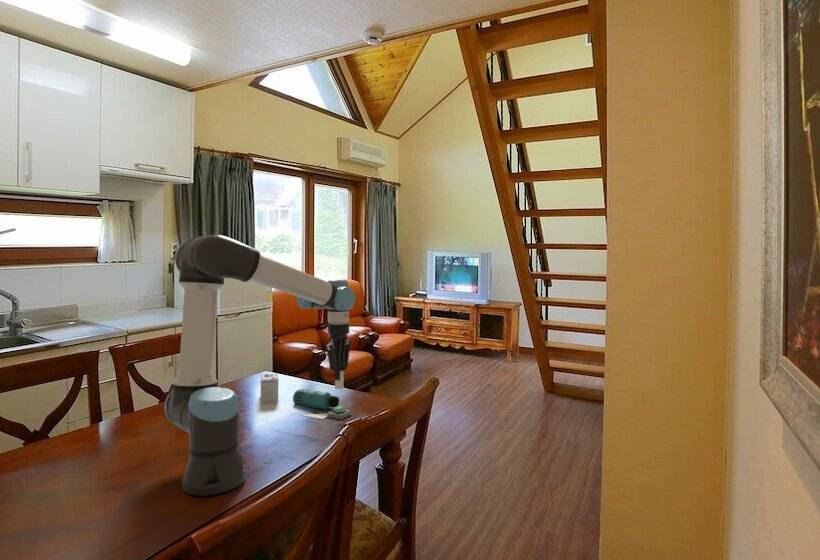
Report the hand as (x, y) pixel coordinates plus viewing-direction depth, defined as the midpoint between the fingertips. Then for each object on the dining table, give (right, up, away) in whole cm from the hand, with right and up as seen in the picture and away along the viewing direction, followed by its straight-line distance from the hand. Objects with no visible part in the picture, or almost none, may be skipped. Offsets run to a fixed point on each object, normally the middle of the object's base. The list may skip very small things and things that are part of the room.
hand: (339, 388), depth 164 cm
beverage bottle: (-20, -7, +14) cm, 25 cm away
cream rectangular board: (-7, -10, +6) cm, 14 cm away
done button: (0, -8, 0) cm, 8 cm away
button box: (0, -10, 0) cm, 10 cm away
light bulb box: (-30, -10, +17) cm, 36 cm away
